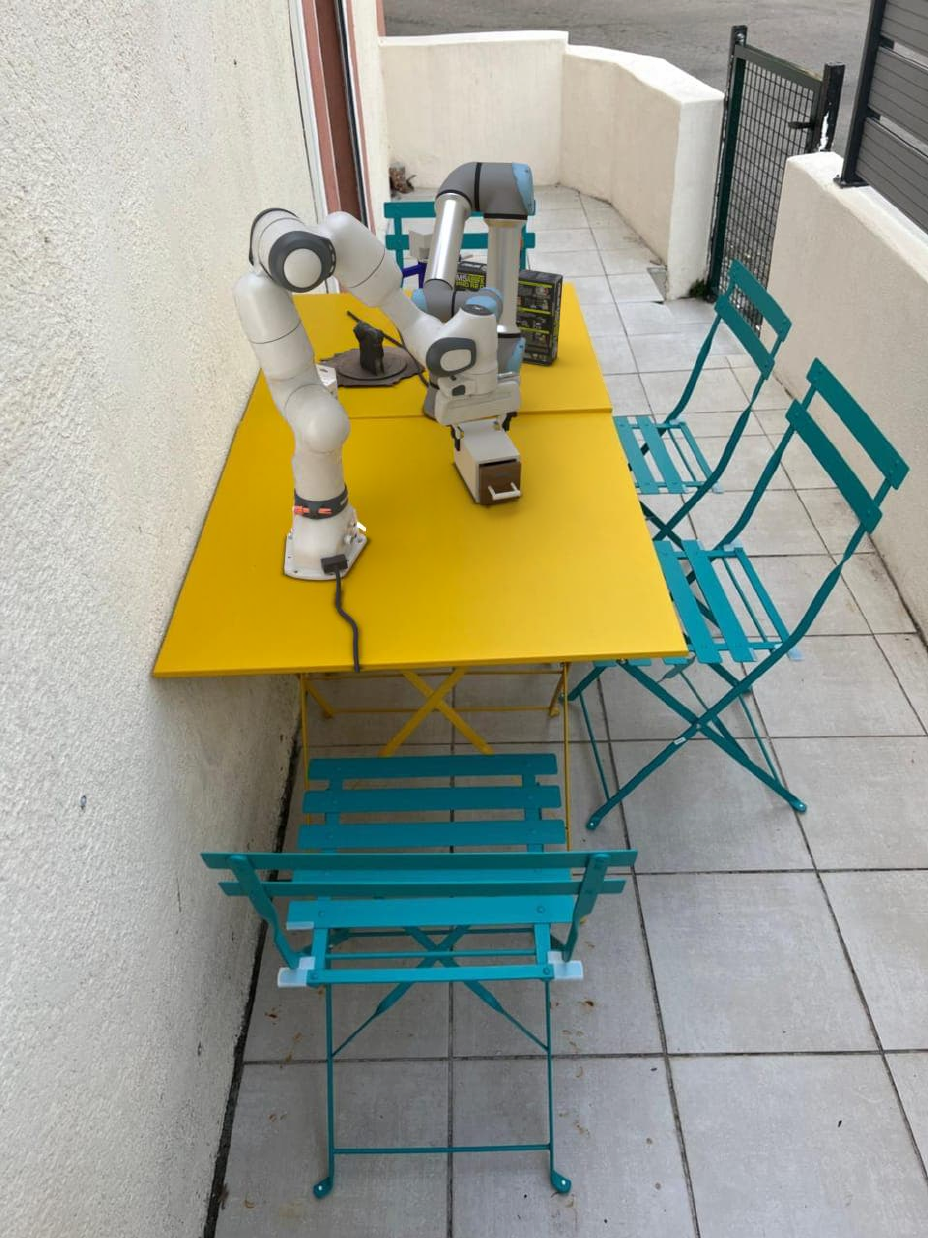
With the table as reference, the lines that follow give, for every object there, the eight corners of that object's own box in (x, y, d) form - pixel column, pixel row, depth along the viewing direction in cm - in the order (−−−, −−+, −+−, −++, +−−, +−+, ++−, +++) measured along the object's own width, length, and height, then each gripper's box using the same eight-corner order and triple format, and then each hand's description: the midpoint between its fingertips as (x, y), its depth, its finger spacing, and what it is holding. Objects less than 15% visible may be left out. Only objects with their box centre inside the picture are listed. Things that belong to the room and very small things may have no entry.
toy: (460, 304, 319) (459, 216, 299) (477, 312, 313) (477, 222, 294) (381, 329, 302) (375, 237, 283) (398, 337, 296) (393, 244, 277)
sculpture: (406, 397, 263) (403, 345, 252) (297, 384, 270) (290, 333, 259) (437, 352, 287) (436, 303, 277) (336, 341, 294) (331, 293, 284)
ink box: (306, 417, 253) (300, 368, 244) (316, 410, 257) (310, 362, 247) (331, 424, 250) (326, 375, 241) (341, 416, 254) (336, 368, 244)
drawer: (526, 509, 215) (528, 474, 208) (486, 516, 213) (487, 481, 206) (497, 462, 232) (498, 428, 226) (460, 467, 230) (460, 433, 224)
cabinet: (518, 496, 221) (520, 454, 214) (475, 503, 219) (475, 461, 211) (495, 458, 236) (496, 417, 228) (454, 464, 233) (453, 423, 226)
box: (558, 357, 283) (564, 272, 266) (551, 366, 278) (556, 280, 261) (461, 342, 293) (461, 259, 276) (453, 350, 288) (452, 266, 271)
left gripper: (515, 364, 202) (514, 419, 211) (430, 380, 197) (433, 435, 206) (526, 375, 198) (525, 430, 207) (440, 392, 193) (442, 448, 202)
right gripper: (522, 352, 218) (519, 432, 232) (428, 363, 213) (431, 444, 227) (532, 364, 212) (528, 445, 226) (436, 377, 207) (438, 459, 221)
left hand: (478, 433), depth 206 cm, fingers open, 8 cm apart
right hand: (480, 445), depth 226 cm, fingers closed on cabinet, 11 cm apart
